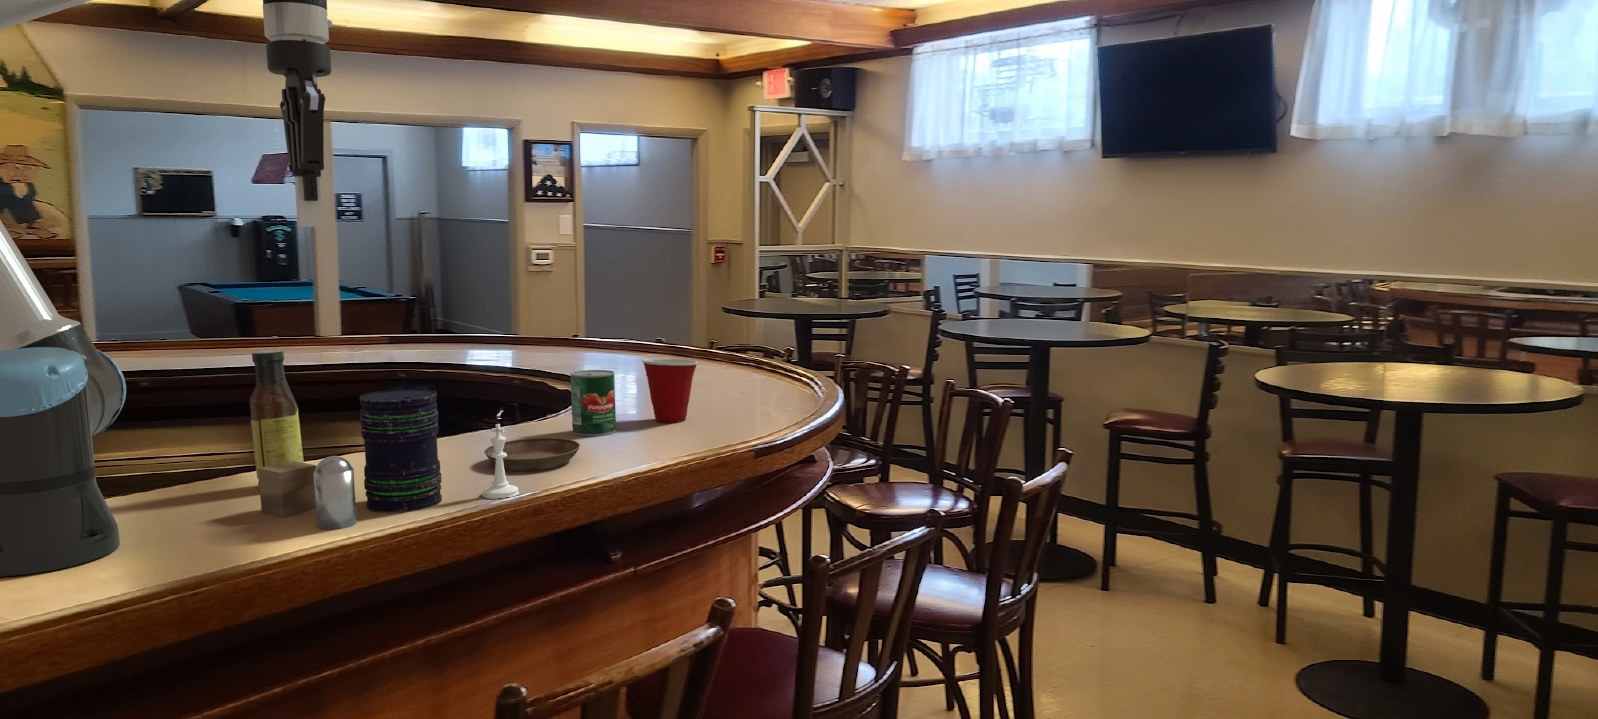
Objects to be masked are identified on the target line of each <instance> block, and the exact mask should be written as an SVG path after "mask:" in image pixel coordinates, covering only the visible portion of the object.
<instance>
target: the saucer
mask: <svg viewBox="0 0 1598 719" xmlns="http://www.w3.org/2000/svg"><path fill="white" fill-rule="evenodd" d="M580 447H581V444H580V442H578V441H576V440H573V439H567V438H559V437H534V438H533V437H532V438H522V439H514V440H508V441H505V444H504V448H503V452H504V453H506V454H507V456H506V457H503V463H504V470H508V471H519V472H520V471H521V472H522V471H524V472H525V471H542V470H548V469H554V468H557V467H561V466H563V465H565V464H567V463H568V462H569V461H570V460H572V459H573V457H574V456H576V454H577V453H578V451H579V449H580ZM483 453H484V454H485V456H486V457H487V458H488V459H489V460H490V461H491V463H493V464H494V465H496V458H493V457H491V456H492V454H493V453H495V449H494V447H493V445H490V446H488V447H487V448H486V449H484V451H483Z"/></svg>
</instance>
